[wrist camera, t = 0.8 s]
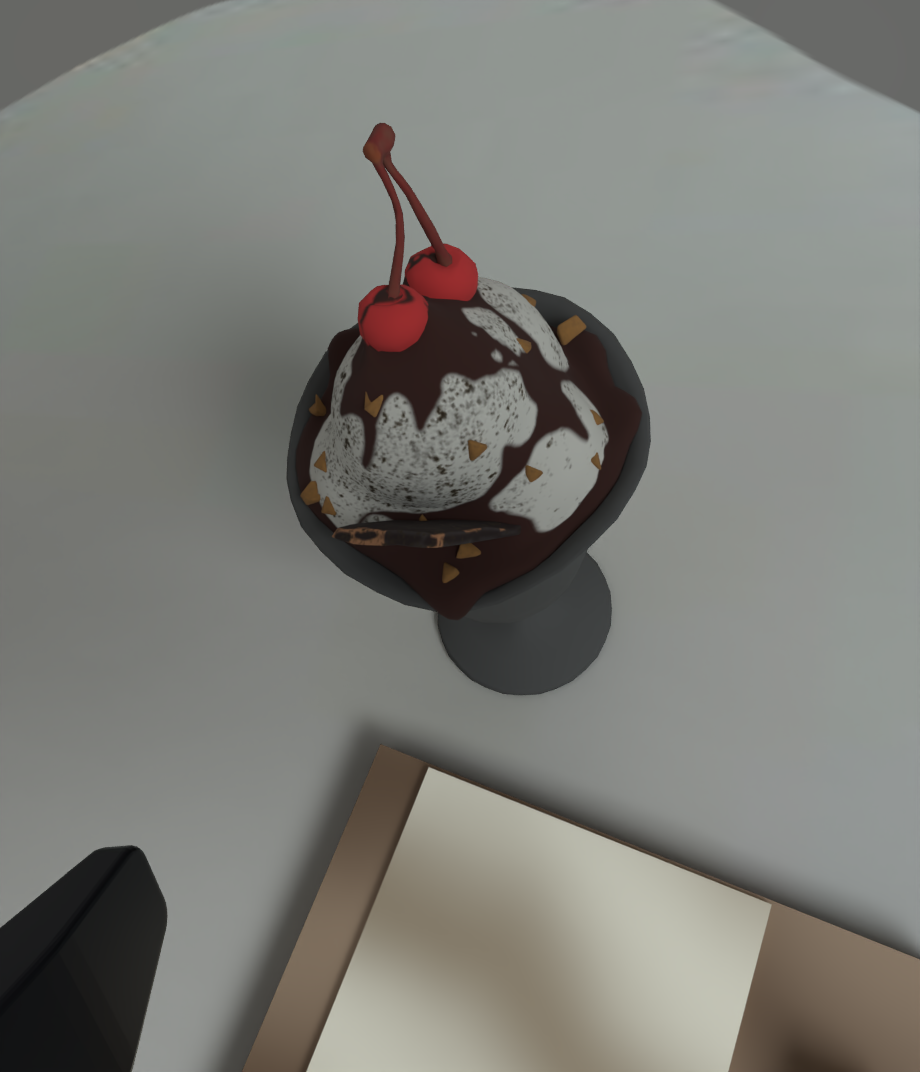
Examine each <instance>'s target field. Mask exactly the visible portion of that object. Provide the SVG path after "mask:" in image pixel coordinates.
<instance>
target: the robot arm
mask: <svg viewBox="0 0 920 1072" xmlns="http://www.w3.org/2000/svg"><path fill="white" fill-rule="evenodd" d="M166 926H167V907H166V902H165V899H164V897H163V894H162V892H161V890H160V888H159V885H158V883H157V881H156V879H155V876H154V874H153V872H152V870H151V867H150V865H149V863H148V861H147V858H146V856H145V854H144V852H143V851H142V850H141V849H140V848H138V847H137V846H132V845H129V846H117V847H104V848H101V849H98V850H95V851H94V852H92V853H91V854H90V855H88V856H87V857H86V858H85V859H84V860H82V861H81V862H80V863H79V864H77V865H76V866H75V867H74V868H73V869H71V870H70V871H69V872H68V873H67V874H65V875H64V876H63V877H62V878H60V879H59V880H58V881H57V882H56V883H54V884H53V885H52V886H51V887H50V888H48V889H47V890H46V891H45V892H43V893H42V894H41V895H40V896H39V897H37V898H36V899H35V900H34V901H32V902H31V903H30V904H29V905H28V906H26V907H25V908H24V909H23V910H22V911H20V912H19V913H18V914H17V915H15V916H14V917H13V918H12V919H11V920H9V921H8V922H7V923H6V924H4V925H3V926H2V927H1V928H0V1072H132V1069H133V1065H134V1061H135V1057H136V1053H137V1049H138V1045H139V1041H140V1036H141V1032H142V1028H143V1024H144V1020H145V1015H146V1011H147V1007H148V1003H149V998H150V994H151V990H152V986H153V982H154V977H155V973H156V969H157V965H158V961H159V956H160V952H161V948H162V944H163V939H164V935H165V931H166Z"/></svg>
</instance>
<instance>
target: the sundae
mask: <svg viewBox="0 0 920 1072" xmlns="http://www.w3.org/2000/svg"><path fill="white" fill-rule="evenodd" d="M394 141H395V133H394V131H393V129H392V127H391V126H389V125H387V124H385V123H379V124H377V125H375V127H374V129H373V131H372V133H371V135H370V137H369V138H368V140H367V142H366V144H365V145H364V147H363V153H364V155H365V157H366V158H367V159H368V160H370V161H371V162H372V163H373V165H374V167H375V169H376V171H377V172H378V174H379V176H380V178H381V179H382V181H383V184H384V186H385V188H386V190H387V192H388V194H389V196H390V198H391V201H392V204H393V208H394V212H395V219H396V246H395V251H394V257H393V263H392V269H391V275H390V281H389V285H381V286H377V287H375V288H374V289H373V290H371V291H370V292H369V293H368V294H367V295H366V296H365V297H364V298H363V299H362V300H361V302H360V303H359V309H358V323H357V324H356V325H355V326H353V327H352V328H350V329H348V330H344V331H341V332H339V333H337V334H336V335H335V336H334V338H333V339H332V341H331V342H330V345H329V347H328V350H327V351H326V352H325V354H324V356H323V357H322V359H321V361H320V362H319V364H318V366H317V368H316V369H315V371H314V373H313V374H312V376H311V378H310V379H309V381H308V383H307V386H306V388H305V390H304V393H303V395H302V397H301V400H300V402H299V404H298V406H297V411H296V415H295V419H294V423H293V427H292V431H291V437H290V443H289V450H288V457H287V484H288V488H289V493H290V498H291V502H292V504H293V507H294V509H295V512H296V515H297V517H298V520H299V522H300V525H301V527H302V528H303V530H304V531H305V532H306V533H307V535H308V536H309V537H310V538H311V540H312V541H313V542H314V543H315V545H316V546H317V547H318V548H319V550H320V551H321V552H322V553H323V554H324V555H326V556H327V557H328V558H329V559H330V560H331V561H332V562H333V563H334V564H335V565H336V566H337V567H338V568H339V569H340V570H341V571H342V572H343V573H344V574H346V575H348V576H349V577H351V578H353V579H355V580H356V581H358V582H360V583H362V584H363V585H365V586H367V587H369V588H370V589H372V590H374V591H376V592H378V593H380V594H382V595H384V596H386V597H389V598H391V599H393V600H395V601H398V602H400V603H402V604H404V605H408V606H413V607H417V608H422V609H427V610H431V611H436V612H438V626H439V630H440V633H441V637H442V641H443V643H444V645H445V648H446V650H447V652H448V655H449V657H450V658H451V659H452V660H453V661H454V663H455V664H456V665H457V666H458V667H459V669H460V670H461V671H463V672H464V673H465V674H466V675H467V676H468V677H469V678H470V679H471V680H472V681H474V682H476V683H478V684H480V685H482V686H484V687H486V688H489V689H491V690H494V691H497V692H500V693H502V694H512V695H534V694H541V693H544V692H547V691H550V690H553V689H556V688H558V687H561V686H563V685H565V684H567V683H569V682H571V681H573V680H574V679H575V678H576V677H577V676H579V675H580V674H581V673H582V672H583V671H585V670H586V669H587V668H588V666H589V665H590V664H591V663H592V662H593V661H594V660H595V659H596V658H597V657H598V655H599V653H600V651H601V649H602V647H603V645H604V643H605V640H606V638H607V635H608V632H609V629H610V626H611V611H612V607H611V595H610V590H609V588H608V585H607V582H606V580H605V577H604V575H603V573H602V572H601V570H600V568H599V566H598V564H597V563H596V562H595V560H594V559H593V558H592V557H591V556H590V555H589V554H588V553H587V550H588V548H589V547H590V546H591V545H592V544H593V543H594V542H595V541H596V540H597V539H598V538H599V537H600V536H601V535H602V534H603V533H604V532H605V531H606V530H607V529H608V528H609V527H610V526H611V525H612V524H613V523H614V522H615V521H616V520H617V519H618V517H619V515H620V514H621V512H622V511H623V509H624V507H625V506H626V504H627V503H628V501H629V499H630V498H631V496H632V495H633V493H634V491H635V490H636V487H637V485H638V483H639V481H640V479H641V477H642V475H643V473H644V470H645V468H646V465H647V460H648V454H649V448H650V442H651V438H650V416H649V411H648V406H647V402H646V397H645V392H644V388H643V386H642V384H641V381H640V379H639V377H638V375H637V373H636V370H635V368H634V366H633V364H632V362H631V360H630V359H629V357H628V355H627V354H626V352H625V351H624V349H623V348H622V346H621V344H620V343H619V341H618V340H617V338H616V336H615V335H614V334H613V333H612V332H611V331H610V330H609V329H608V328H607V327H605V326H604V325H603V324H602V323H601V322H600V321H599V320H597V319H596V318H595V317H594V316H593V315H592V314H591V313H589V312H588V311H586V310H584V309H583V308H581V307H579V306H578V305H576V304H574V303H573V302H571V301H569V300H568V299H566V298H564V297H561V296H557V295H553V294H549V293H545V292H541V291H537V290H530V289H521V288H512V287H509V286H507V285H505V284H503V283H501V282H498V281H494V280H490V279H486V278H481V277H478V272H477V268H476V264H475V263H474V262H473V261H472V260H471V259H470V258H469V257H468V256H467V255H466V254H465V253H464V252H463V251H461V250H460V249H459V248H456V247H453V246H451V245H448V244H443V243H442V241H441V239H440V237H439V235H438V233H437V231H436V228H435V227H434V225H433V223H432V222H431V220H430V218H429V217H428V215H427V213H426V212H425V210H424V208H423V207H422V205H421V203H420V202H419V200H418V198H417V197H416V195H415V193H414V192H413V190H412V188H411V187H410V186H409V184H408V183H407V182H406V180H405V179H404V178H403V176H402V175H401V174H400V173H399V172H398V171H397V169H396V168H395V166H394V165H393V163H392V161H391V154H390V151H391V149H392V148H393V146H394ZM385 168H386V169H387V171H388V172H389V173H390V175H391V176H392V177H393V179H394V180H395V181H396V183H397V184H398V185H399V187H400V188H401V190H402V191H403V192H404V194H405V195H406V197H407V199H408V201H409V203H410V205H411V207H412V209H413V211H414V213H415V215H416V217H417V219H418V221H419V222H420V224H421V226H422V228H423V230H424V232H425V234H426V236H427V238H428V239H429V241H430V243H431V247H428V248H426V249H424V250H422V251H420V252H418V253H416V254H414V255H413V256H411V257H410V260H409V262H408V264H407V267H406V269H405V278H404V282H403V285H400V281H401V272H402V263H403V254H404V239H405V235H404V221H403V212H402V209H401V206H400V203H399V199H398V197H397V194H396V191H395V189H394V186H393V184H392V182H391V180H390V178H389V175H388V173H387V171H386V169H385Z"/></svg>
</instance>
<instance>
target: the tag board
mask: <svg viewBox="0 0 920 1072" xmlns="http://www.w3.org/2000/svg"><path fill="white" fill-rule="evenodd" d="M242 1072H920V959H917V958H915V957H912V956H910V955H907V954H905V953H902V952H900V951H897V950H895V949H892V948H890V947H887V946H885V945H882V944H880V943H877V942H875V941H872V940H870V939H867V938H865V937H862V936H860V935H857V934H855V933H852V932H850V931H847V930H845V929H842V928H840V927H837V926H835V925H832V924H830V923H827V922H825V921H822V920H820V919H817V918H815V917H812V916H810V915H807V914H805V913H802V912H800V911H797V910H795V909H792V908H790V907H787V906H785V905H782V904H780V903H777V902H775V901H772V900H770V899H767V898H765V897H762V896H760V895H757V894H755V893H752V892H750V891H747V890H745V889H742V888H740V887H737V886H735V885H732V884H730V883H727V882H725V881H722V880H720V879H717V878H715V877H712V876H710V875H707V874H705V873H702V872H700V871H697V870H695V869H692V868H689V867H687V866H684V865H682V864H679V863H677V862H674V861H672V860H669V859H667V858H664V857H662V856H659V855H657V854H654V853H652V852H649V851H647V850H644V849H642V848H639V847H637V846H634V845H632V844H629V843H627V842H624V841H622V840H619V839H617V838H614V837H612V836H609V835H607V834H604V833H602V832H599V831H597V830H594V829H592V828H589V827H587V826H584V825H582V824H579V823H577V822H574V821H572V820H569V819H567V818H564V817H562V816H559V815H557V814H554V813H552V812H549V811H547V810H544V809H542V808H539V807H537V806H534V805H532V804H529V803H527V802H524V801H522V800H519V799H517V798H514V797H512V796H509V795H507V794H504V793H502V792H499V791H497V790H494V789H492V788H489V787H487V786H484V785H482V784H479V783H477V782H474V781H472V780H469V779H467V778H464V777H462V776H459V775H457V774H454V773H452V772H449V771H447V770H444V769H442V768H439V767H437V766H434V765H432V764H429V763H427V762H424V761H422V760H419V759H417V758H414V757H412V756H409V755H407V754H404V753H402V752H399V751H397V750H394V749H392V748H389V747H387V746H384V745H382V744H380V747H379V749H378V751H377V754H376V756H375V759H374V761H373V763H372V766H371V768H370V770H369V773H368V775H367V777H366V780H365V782H364V784H363V787H362V789H361V792H360V794H359V796H358V799H357V801H356V803H355V806H354V808H353V810H352V813H351V815H350V818H349V820H348V822H347V825H346V827H345V829H344V832H343V834H342V836H341V839H340V841H339V844H338V846H337V848H336V851H335V853H334V855H333V858H332V860H331V862H330V865H329V867H328V869H327V872H326V874H325V877H324V879H323V881H322V884H321V886H320V888H319V891H318V893H317V895H316V898H315V900H314V903H313V905H312V907H311V910H310V912H309V914H308V917H307V919H306V921H305V924H304V926H303V929H302V931H301V933H300V936H299V938H298V940H297V943H296V945H295V947H294V950H293V952H292V955H291V957H290V959H289V962H288V964H287V966H286V969H285V971H284V973H283V976H282V978H281V980H280V983H279V985H278V988H277V990H276V992H275V995H274V997H273V999H272V1002H271V1004H270V1006H269V1009H268V1011H267V1014H266V1016H265V1018H264V1021H263V1023H262V1025H261V1028H260V1030H259V1032H258V1035H257V1037H256V1040H255V1042H254V1044H253V1047H252V1049H251V1051H250V1054H249V1056H248V1058H247V1061H246V1063H245V1065H244V1068H243V1070H242Z"/></svg>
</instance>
